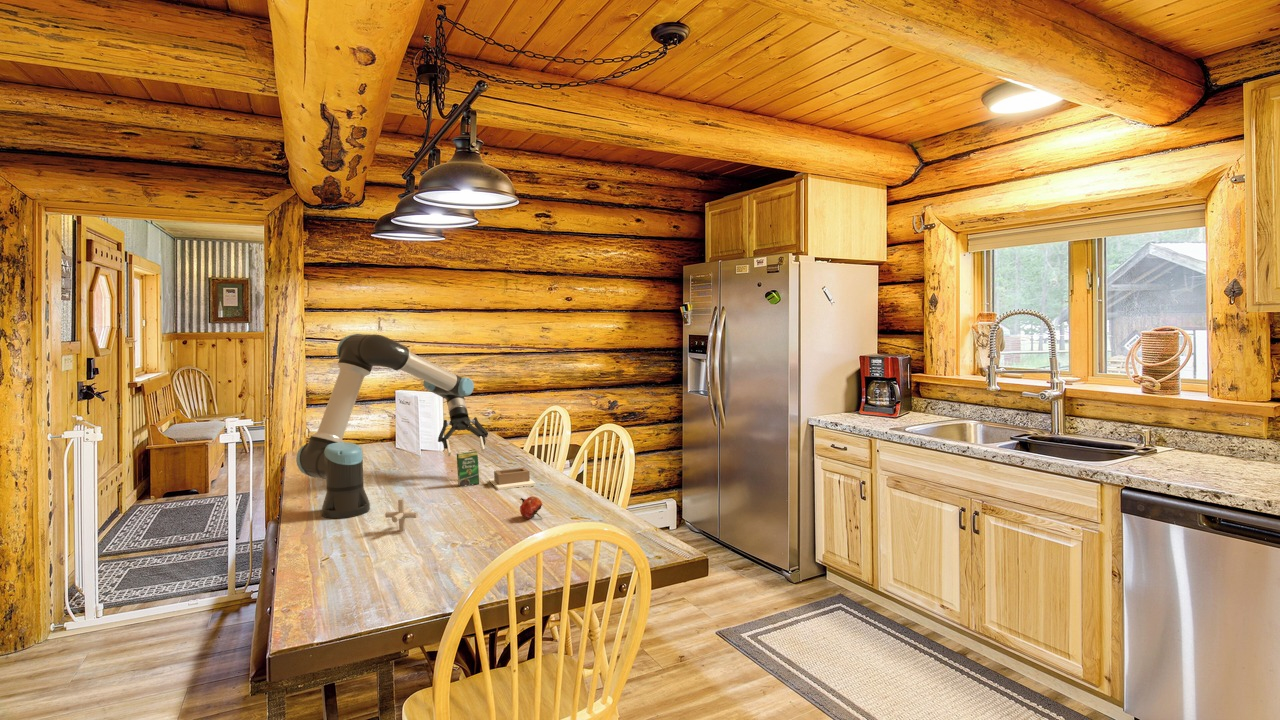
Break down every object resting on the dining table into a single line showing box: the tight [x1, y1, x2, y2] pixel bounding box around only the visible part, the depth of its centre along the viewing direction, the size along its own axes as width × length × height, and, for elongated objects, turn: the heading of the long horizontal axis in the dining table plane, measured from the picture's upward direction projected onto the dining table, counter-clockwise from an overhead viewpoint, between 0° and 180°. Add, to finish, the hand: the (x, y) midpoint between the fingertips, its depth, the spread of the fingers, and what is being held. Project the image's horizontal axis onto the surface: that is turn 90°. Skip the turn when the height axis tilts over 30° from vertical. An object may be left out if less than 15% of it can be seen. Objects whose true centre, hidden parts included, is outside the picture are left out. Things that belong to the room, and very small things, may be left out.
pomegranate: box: [519, 496, 544, 520], centre depth 215 cm, size 7×7×10 cm
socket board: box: [488, 467, 537, 491], centre depth 260 cm, size 15×15×5 cm
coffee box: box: [456, 450, 480, 487], centre depth 258 cm, size 8×3×13 cm, turn 118°
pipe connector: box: [384, 497, 419, 532], centre depth 204 cm, size 10×10×10 cm
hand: (466, 452), depth 264 cm, fingers open, 13 cm apart
